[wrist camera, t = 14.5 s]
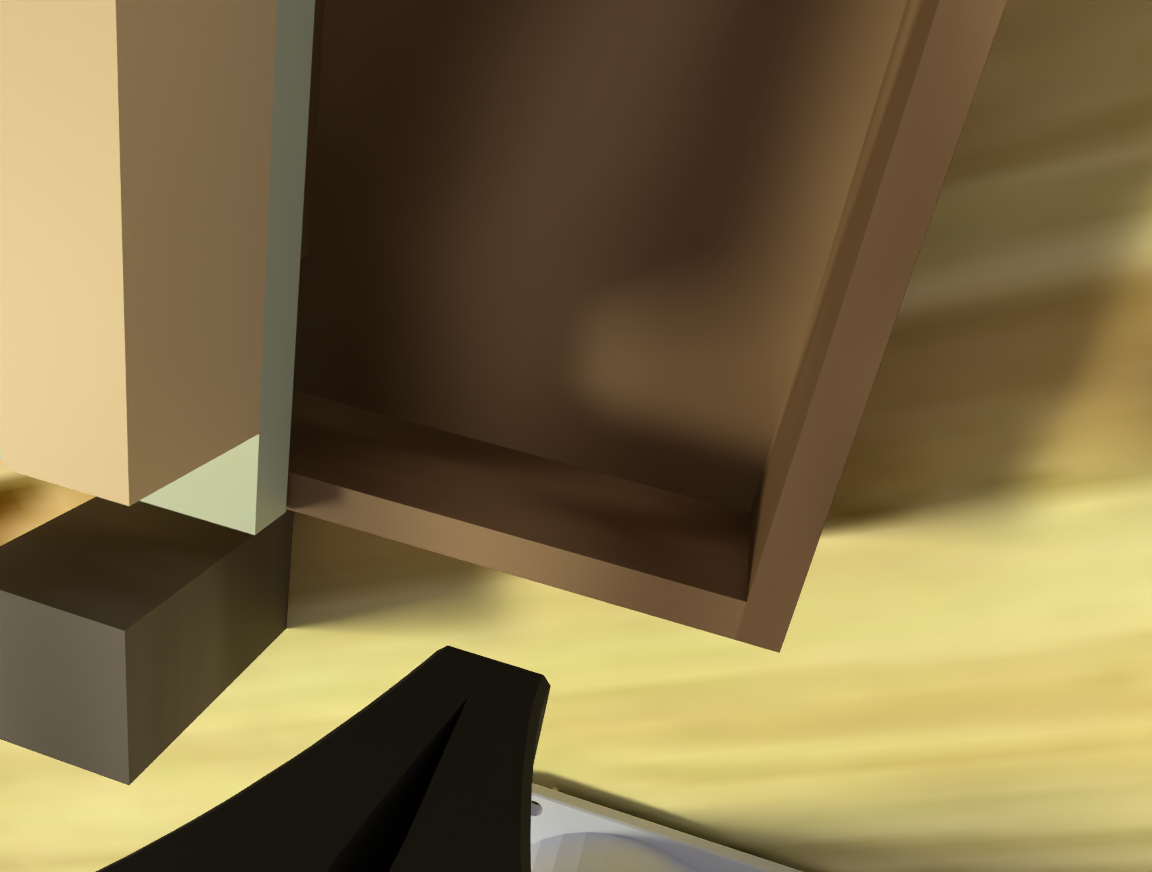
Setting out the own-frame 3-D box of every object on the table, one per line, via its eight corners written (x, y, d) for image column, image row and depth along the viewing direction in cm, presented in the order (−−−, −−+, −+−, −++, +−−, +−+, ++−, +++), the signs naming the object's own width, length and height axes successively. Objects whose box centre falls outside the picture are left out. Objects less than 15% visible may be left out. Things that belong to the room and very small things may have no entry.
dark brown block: (294, 503, 21) (124, 630, 15) (286, 628, 22) (128, 785, 17) (159, 464, 21) (-52, 573, 16) (160, 588, 23) (-33, 727, 17)
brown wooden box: (1016, -204, 13) (1136, -373, 9) (776, 537, 18) (779, 652, 14) (56, -335, 15) (-207, -516, 11) (87, 351, 20) (-84, 401, 16)
